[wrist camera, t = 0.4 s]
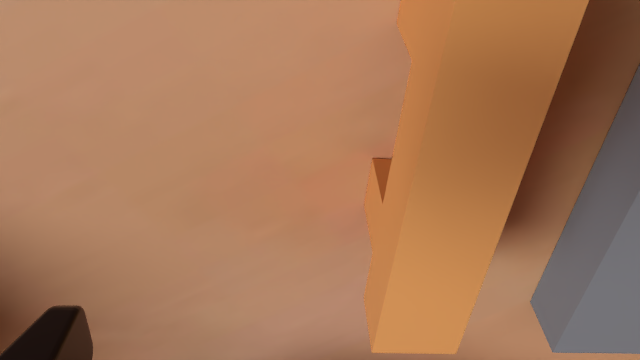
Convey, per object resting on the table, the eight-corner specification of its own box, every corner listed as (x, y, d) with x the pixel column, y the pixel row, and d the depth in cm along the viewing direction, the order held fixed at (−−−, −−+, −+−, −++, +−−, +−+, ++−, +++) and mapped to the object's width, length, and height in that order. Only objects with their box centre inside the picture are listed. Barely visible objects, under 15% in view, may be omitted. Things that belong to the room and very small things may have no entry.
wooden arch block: (420, 229, 26) (455, 353, 20) (353, 227, 25) (371, 352, 20) (503, -87, 18) (595, -16, 13) (408, -95, 17) (461, -26, 12)
